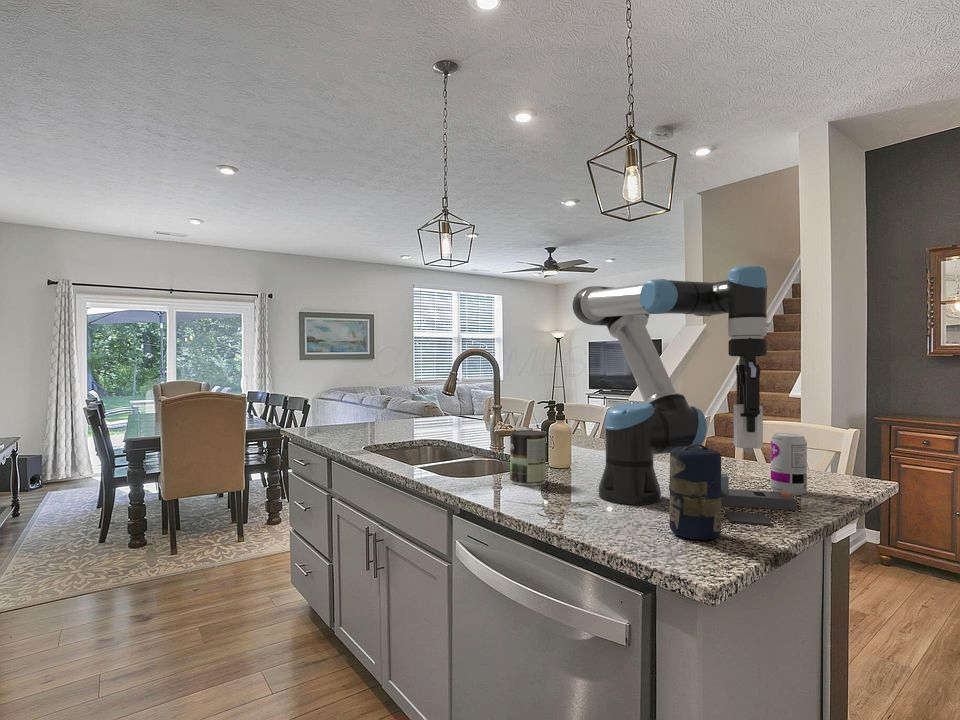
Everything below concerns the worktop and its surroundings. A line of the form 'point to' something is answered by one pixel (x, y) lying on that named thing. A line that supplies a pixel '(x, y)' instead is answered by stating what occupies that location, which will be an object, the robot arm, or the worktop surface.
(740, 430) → the block
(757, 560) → the worktop surface
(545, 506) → the worktop surface
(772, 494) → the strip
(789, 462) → the supplement can
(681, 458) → the canister
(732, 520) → the mat
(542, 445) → the coffee can
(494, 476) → the worktop surface
